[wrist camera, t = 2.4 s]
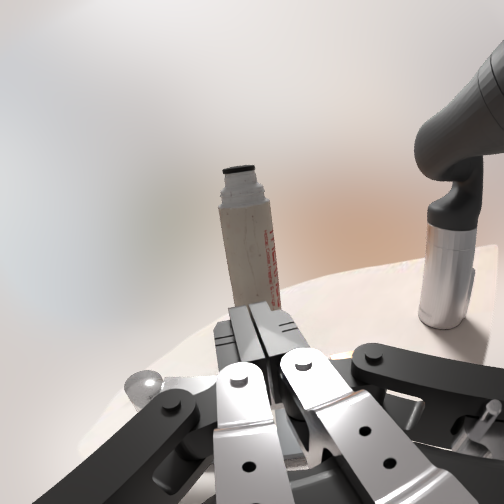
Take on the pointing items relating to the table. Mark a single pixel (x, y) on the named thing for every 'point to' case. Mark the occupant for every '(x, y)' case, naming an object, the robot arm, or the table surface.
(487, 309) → the table surface
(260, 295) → the thermos bottle
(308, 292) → the table surface
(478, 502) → the robot arm
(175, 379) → the swing arm
